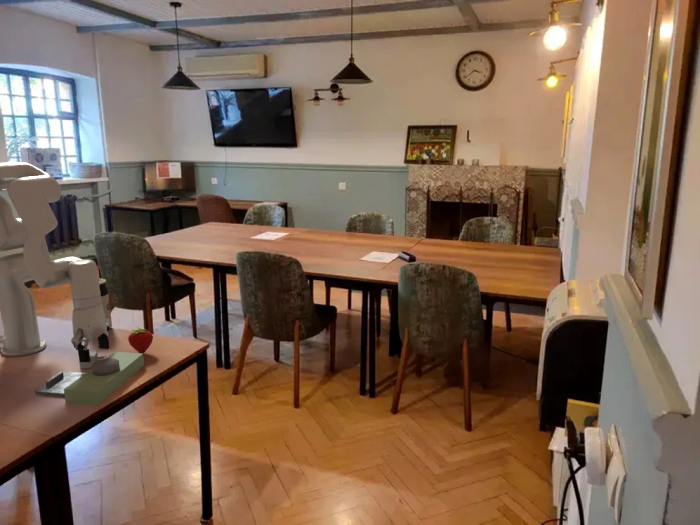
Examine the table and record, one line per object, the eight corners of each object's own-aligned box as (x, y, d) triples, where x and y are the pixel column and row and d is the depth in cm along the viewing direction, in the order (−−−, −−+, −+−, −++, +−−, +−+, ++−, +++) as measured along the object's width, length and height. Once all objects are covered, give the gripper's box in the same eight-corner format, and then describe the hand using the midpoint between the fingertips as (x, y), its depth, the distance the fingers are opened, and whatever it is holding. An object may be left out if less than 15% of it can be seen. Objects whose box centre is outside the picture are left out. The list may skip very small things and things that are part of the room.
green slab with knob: (64, 402, 137) (61, 382, 135) (115, 363, 160) (113, 345, 158) (97, 405, 136) (94, 384, 134) (144, 365, 159) (142, 347, 157)
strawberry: (152, 357, 165) (149, 327, 162) (127, 358, 164) (124, 328, 161) (156, 349, 170) (153, 321, 168) (132, 350, 169) (129, 321, 167)
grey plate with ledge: (35, 394, 141) (34, 386, 140) (64, 374, 153) (63, 366, 152) (71, 397, 140) (70, 388, 139) (97, 377, 151) (96, 369, 151)
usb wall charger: (83, 364, 160) (81, 352, 159) (107, 361, 161) (106, 349, 160) (80, 369, 156) (78, 357, 155) (105, 367, 158) (103, 355, 157)
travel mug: (83, 333, 184) (77, 284, 179) (94, 324, 192) (89, 278, 187) (105, 333, 184) (99, 284, 179) (116, 325, 191) (110, 278, 187)
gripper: (93, 292, 162) (100, 343, 166) (55, 310, 146) (65, 366, 150) (115, 293, 161) (122, 344, 165) (80, 311, 145) (89, 367, 149)
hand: (95, 355), depth 158 cm, fingers open, 9 cm apart
